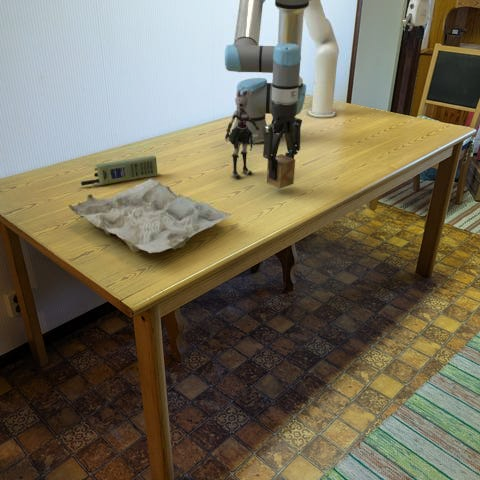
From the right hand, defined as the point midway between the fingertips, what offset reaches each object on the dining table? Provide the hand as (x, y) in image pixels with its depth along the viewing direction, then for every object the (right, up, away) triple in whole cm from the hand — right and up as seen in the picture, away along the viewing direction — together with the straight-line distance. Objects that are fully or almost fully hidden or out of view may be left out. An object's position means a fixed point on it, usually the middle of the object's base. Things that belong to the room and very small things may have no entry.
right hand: (412, 39), depth 216 cm
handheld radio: (-113, -66, -50) cm, 140 cm away
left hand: (-61, -65, -58) cm, 107 cm away
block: (-61, -68, -57) cm, 108 cm away
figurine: (-74, -63, -44) cm, 106 cm away
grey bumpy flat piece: (-98, -82, -77) cm, 149 cm away
